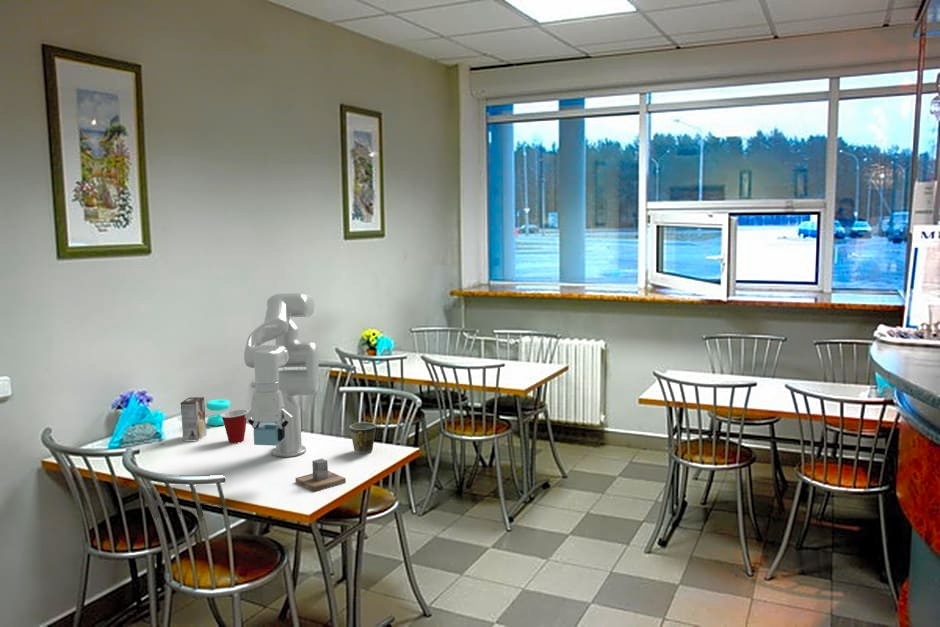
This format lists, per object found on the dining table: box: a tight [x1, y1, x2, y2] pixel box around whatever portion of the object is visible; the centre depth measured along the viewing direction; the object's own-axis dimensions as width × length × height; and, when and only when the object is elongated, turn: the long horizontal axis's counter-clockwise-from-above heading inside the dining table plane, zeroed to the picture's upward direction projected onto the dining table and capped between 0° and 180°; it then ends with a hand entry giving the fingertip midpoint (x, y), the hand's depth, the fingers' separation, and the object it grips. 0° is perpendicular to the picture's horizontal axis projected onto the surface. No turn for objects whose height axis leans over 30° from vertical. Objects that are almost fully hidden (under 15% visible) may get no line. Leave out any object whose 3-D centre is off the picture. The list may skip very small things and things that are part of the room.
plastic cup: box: [220, 409, 249, 444], centre depth 299 cm, size 11×11×12 cm
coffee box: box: [180, 396, 207, 441], centre depth 304 cm, size 9×6×16 cm
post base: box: [295, 458, 347, 492], centre depth 252 cm, size 12×12×8 cm
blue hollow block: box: [253, 423, 285, 447], centre depth 248 cm, size 7×7×5 cm
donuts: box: [205, 398, 231, 427], centre depth 326 cm, size 10×10×10 cm
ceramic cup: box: [349, 421, 377, 455], centre depth 283 cm, size 13×10×10 cm
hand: (269, 439), depth 248 cm, fingers closed on blue hollow block, 7 cm apart
